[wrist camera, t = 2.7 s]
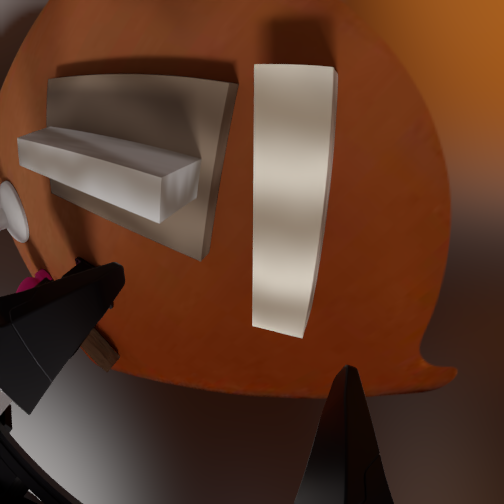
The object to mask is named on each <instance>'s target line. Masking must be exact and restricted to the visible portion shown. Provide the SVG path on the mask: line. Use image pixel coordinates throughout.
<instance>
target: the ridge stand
mask: <svg viewBox="0 0 504 504" xmlns="http://www.w3.org/2000/svg"><path fill="white" fill-rule="evenodd" d="M238 85H239V84H236V83H230V82H224V81H217V80H210V79H203V78H194V77H184V76H173V75H158V74H93V75H79V76H68V77H59V78H53V79H48V89H47V128H44V129H41V130H38V131H35V132H33V133H30V134H27V135H24V136H22V137H19V138H17V140H18V153H19V163H20V165H21V166H23V167H25V168H28V169H30V170H32V171H35V172H37V173H39V174H42V175H44V176H46V177H49V178H50V185H51V193H53V194H55V195H57V196H59V197H61V198H63V199H65V200H67V201H69V202H71V203H73V204H75V205H77V206H80V207H82V208H84V209H86V210H88V211H90V212H92V213H94V214H96V215H99V216H101V217H103V218H105V219H107V220H109V221H111V222H114V223H116V224H118V225H120V226H122V227H124V228H127V229H129V230H131V231H133V232H135V233H138V234H140V235H142V236H144V237H146V238H149V239H151V240H153V241H155V242H158V243H160V244H162V245H164V246H167V247H169V248H171V249H173V250H176V251H178V252H180V253H183V254H185V255H187V256H189V257H192V258H194V259H196V260H199V261H202V259H203V258H204V257H205V256H206V255H207V254H208V253H209V250H210V243H211V236H212V229H213V222H214V216H215V209H216V203H217V197H218V191H219V185H220V179H221V173H222V167H223V162H224V156H225V151H226V145H227V140H228V135H229V129H230V124H231V119H232V114H233V109H234V104H235V99H236V95H237V90H238Z"/></svg>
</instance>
